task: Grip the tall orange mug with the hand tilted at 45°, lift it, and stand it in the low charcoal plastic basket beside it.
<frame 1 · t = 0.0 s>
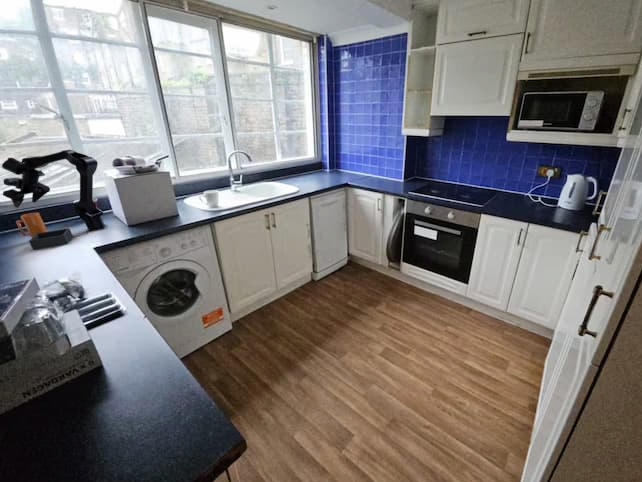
hand: (25, 204, 154), 15 cm above the table, tool tilted 35°, fingers open, 9 cm apart
tall orange mug: (41, 238, 150), on the table
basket: (54, 242, 144), on the table
plastic cup: (93, 219, 177), on the table
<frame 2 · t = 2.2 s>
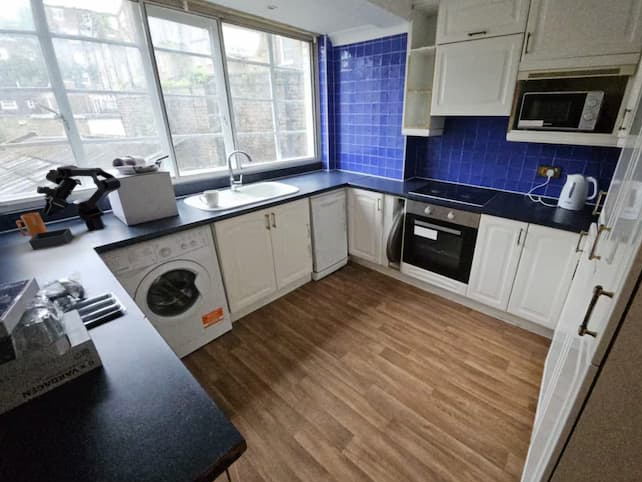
hand: (45, 214, 149), 12 cm above the table, tool tilted 45°, fingers open, 9 cm apart
nothing on the table moved.
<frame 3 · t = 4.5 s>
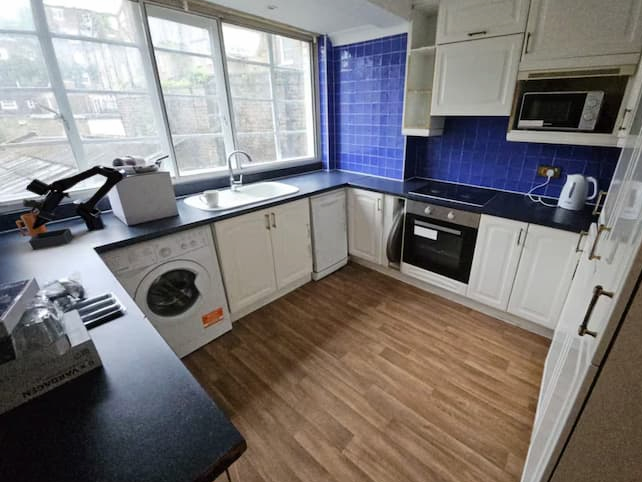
hand: (31, 227, 146), 7 cm above the table, tool tilted 45°, fingers closed on tall orange mug, 6 cm apart
tall orange mug: (41, 238, 150), on the table, touching gripper
everything else where it was.
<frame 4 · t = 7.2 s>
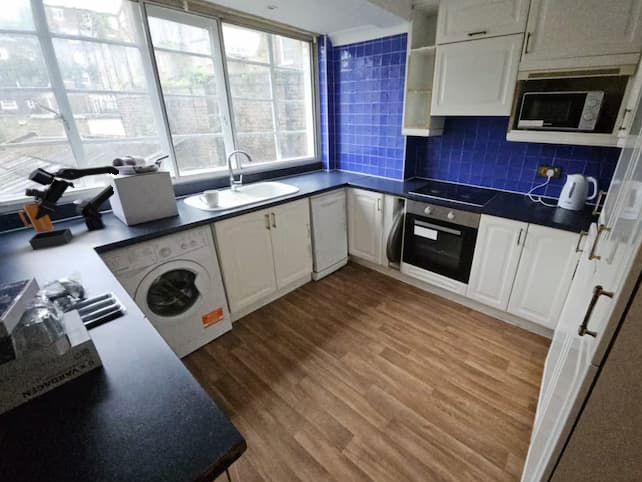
hand: (34, 218, 141), 12 cm above the table, tool tilted 45°, fingers closed on tall orange mug, 6 cm apart
tall orange mug: (45, 229, 145), point 6 cm above the table, touching gripper
everything else where it was.
when the fingers open (7 cm above the table, at t = 10.0 s): tall orange mug stays where it is, resting on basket.
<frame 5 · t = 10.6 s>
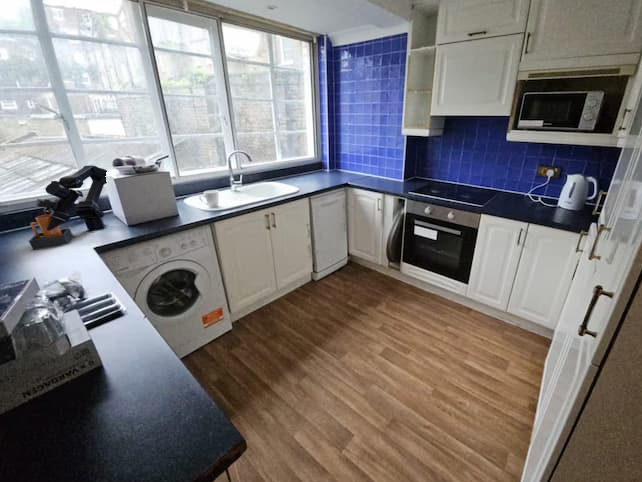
hand: (45, 228, 141), 8 cm above the table, tool tilted 45°, fingers open, 9 cm apart
tall orange mug: (56, 241, 145), point 1 cm above the table, touching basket
everything else where it was.
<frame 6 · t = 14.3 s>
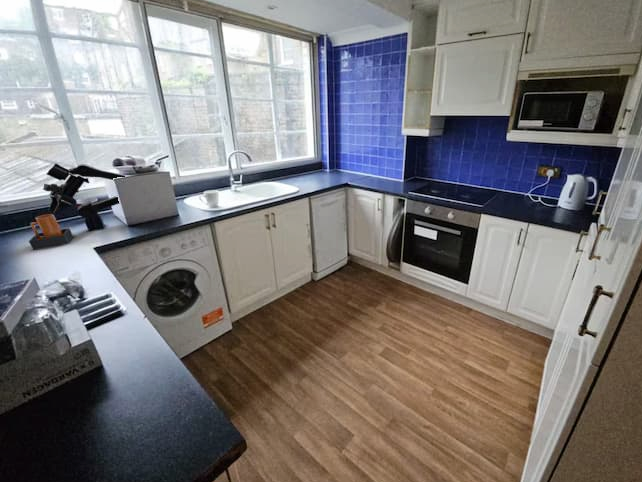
hand: (52, 212, 146), 13 cm above the table, tool tilted 45°, fingers open, 9 cm apart
nothing on the table moved.
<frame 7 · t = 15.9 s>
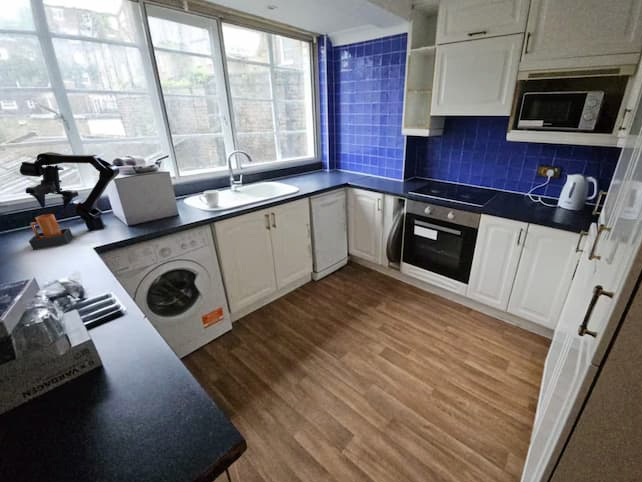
hand: (54, 208, 151), 14 cm above the table, tool pointing down, fingers open, 9 cm apart
nothing on the table moved.
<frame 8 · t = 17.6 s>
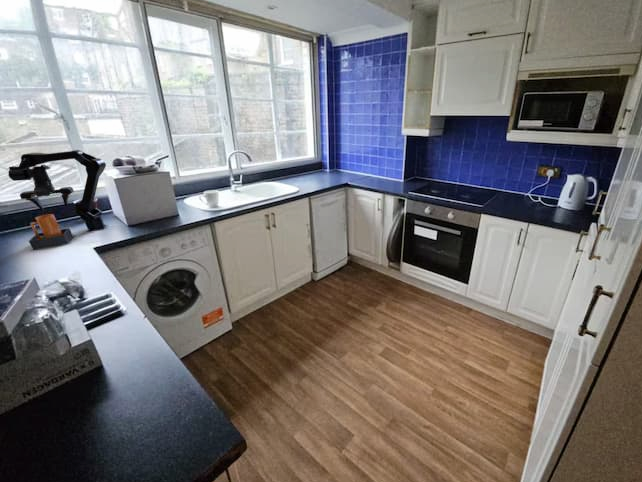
hand: (55, 208, 153), 13 cm above the table, tool pointing down, fingers open, 9 cm apart
nothing on the table moved.
at the end: tall orange mug inside the target area in the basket (1.0 cm from its centre), point 0.6 cm above the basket's base; tall orange mug tilted 0°; the gripper is holding nothing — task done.
